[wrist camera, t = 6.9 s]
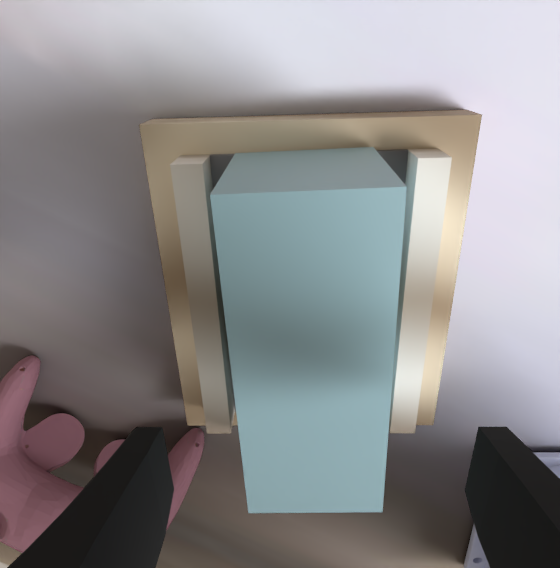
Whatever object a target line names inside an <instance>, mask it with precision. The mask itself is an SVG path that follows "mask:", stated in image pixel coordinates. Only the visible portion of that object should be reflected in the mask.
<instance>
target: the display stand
mask: <svg viewBox="0 0 560 568" xmlns="http://www.w3.org/2000/svg"><path fill="white" fill-rule="evenodd" d="M481 117H482V115H481V114H478V113H475V112H472V111H469V110H437V111H403V112H370V113H336V114H302V115H268V116H235V117H201V118H167V119H151V120H149V121H146V122H144V123H142V124H140V125H139V127H140V133H141V140H142V146H143V152H144V158H145V164H146V171H147V177H148V183H149V189H150V195H151V202H152V208H153V214H154V220H155V226H156V233H157V239H158V245H159V251H160V258H161V264H162V270H163V276H164V282H165V289H166V295H167V301H168V307H169V313H170V320H171V326H172V332H173V338H174V344H175V351H176V357H177V363H178V369H179V375H180V382H181V388H182V394H183V400H184V407H185V413H186V419H187V425H188V426H206V430H207V434H231V431H232V425H238V422H237V414H236V406H235V398H234V389H233V381H232V373H231V364H230V356H229V348H228V340H227V331H226V323H225V315H224V307H223V298H222V290H221V282H220V273H219V265H218V257H217V249H216V240H215V232H214V224H213V215H212V207H211V199H210V194H211V192H212V191H213V189H214V187H215V186H216V184H217V182H218V181H219V179H220V178H221V176H222V174H223V173H224V171H225V169H226V168H227V166H228V164H229V163H230V161H231V159H232V158H233V156H234V154H235V153H249V152H271V151H293V150H315V149H337V148H358V147H374V148H375V150H376V151H377V152H378V153H379V154H380V155H381V157H382V158H383V159H384V160H385V161H386V163H387V164H388V165H389V166H390V167H391V169H392V170H393V171H394V172H395V173H396V174H397V176H398V177H399V178H400V179H401V180H402V182H403V183H404V184H405V185H406V186H407V191H406V204H405V217H404V231H403V244H402V258H401V271H400V284H399V298H398V311H397V325H396V338H395V351H394V365H393V378H392V392H391V405H390V419H389V431H390V433H415V429H416V425H433V423H434V417H435V410H436V404H437V398H438V391H439V385H440V378H441V372H442V366H443V359H444V353H445V347H446V340H447V334H448V327H449V321H450V315H451V308H452V302H453V296H454V289H455V283H456V276H457V270H458V264H459V257H460V251H461V245H462V238H463V232H464V225H465V219H466V213H467V206H468V200H469V194H470V187H471V181H472V174H473V168H474V162H475V155H476V149H477V143H478V136H479V130H480V123H481Z"/></svg>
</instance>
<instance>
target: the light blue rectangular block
mask: <svg viewBox="0 0 560 568" xmlns="http://www.w3.org/2000/svg"><path fill="white" fill-rule="evenodd" d="M406 191H407V186H406V185H405V184H404V183H403V182H402V180H401V179H400V178H399V177H398V176H397V174H396V173H395V172H394V171H393V170H392V169H391V167H390V166H389V165H388V164H387V163H386V161H385V160H384V159H383V158H382V157H381V155H380V154H379V153H378V152H377V151H376V150H375V148H374V147H358V148H337V149H315V150H293V151H271V152H249V153H235V154H234V156H233V158H232V159H231V161H230V163H229V164H228V166H227V168H226V169H225V171H224V173H223V174H222V176H221V178H220V179H219V181H218V182H217V184H216V186H215V187H214V189H213V191H212V192H211V194H210V199H211V207H212V215H213V224H214V232H215V240H216V249H217V257H218V265H219V273H220V282H221V290H222V298H223V307H224V315H225V323H226V331H227V340H228V348H229V356H230V364H231V373H232V381H233V389H234V398H235V406H236V414H237V422H238V431H239V439H240V447H241V456H242V464H243V472H244V480H245V489H246V497H247V505H248V513H340V512H383V499H384V486H385V472H386V459H387V445H388V432H389V419H390V405H391V392H392V378H393V365H394V351H395V338H396V325H397V311H398V298H399V284H400V271H401V258H402V244H403V231H404V217H405V204H406Z"/></svg>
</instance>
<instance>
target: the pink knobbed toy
mask: <svg viewBox="0 0 560 568" xmlns="http://www.w3.org/2000/svg"><path fill="white" fill-rule="evenodd" d="M40 363H41V361H40V360H39V358H38V357H36V356H33V355H31V356H27V357H25V358H24V359H22V360H20V361H19V362H18V363H17V364H15V366H14V367H13V368H12V369H11V370H10V371H9V372H8V373H7V374H6V375H5V376H4V378H3V379H2V381H1V382H0V542H2V543H4V544H6V545H8V546H10V547H11V548H13V549H15V550H17V551H19V552H22V553H23V552H24V551H25V550H26V549H27V548H28V547H29V546H30V545H31V544H32V543H33V542H34V541H35V540H36V539H37V538H38V537H39V536H40V535H41V534H42V533H43V532H44V531H45V530H46V529H47V527H48V526H49V525H50V524H51V523H52V522H53V521H54V520H55V519H56V518H57V517H58V516H59V515H60V514H61V513H62V512H63V511H64V510H65V509H66V508H67V506H68V505H69V504H70V503H71V502H72V501H73V500H74V499H75V497H76V496H77V495H78V494H79V493H80V492H81V491H82V490H83V489H84V488H83V487H80V486H77V485H74V484H71V483H69V482H67V481H65V480H63V479H60V478H58V477H56V476H54V475H52V474H50V472H51V471H53V470H55V469H57V468H59V467H61V466H63V465H65V464H66V463H68V462H69V461H70V460H71V459H72V458H73V457H74V456H75V455H76V454H77V453H78V451H79V450H80V448H81V447H82V445H83V442H84V437H85V433H84V428H83V426H82V424H81V423H80V422H79V421H78V420H77V419H76V418H75V417H73V416H71V415H69V414H64V413H58V414H54V415H51V416H49V417H48V418H46V419H44V420H43V421H41V422H40V423H39V424H37V425H36V426H34V427H32V428H30V429H29V430H27V431H24V429H23V423H24V415H25V412H26V409H27V407H28V404H29V402H30V399H31V396H32V394H33V391H34V389H35V386H36V382H37V379H38V375H39V370H40ZM124 441H125V439H121V440H115V441H112V442H110V443H109V444H107V445H106V446H105V447H104V448H103V449H102V451H101V452H100V453H99V455H98V457H97V459H96V461H95V464H94V476H95V475H96V474H97V473H98V471H99V470H100V469H101V468H102V467H103V466H104V464H105V463H106V462H107V461H108V460H109V458H110V457H111V456H112V455H113V454H114V453H115V451H116V450H117V449H118V448H119V447H120V445H121V444H122V443H123V442H124ZM203 447H204V433H203V431H202V430H201V429H200V428H192V429H191V430H190V431H189V432H187V433H186V434H185V435H184V436H183V437H182V438H181V439H180V440H179V441H178V442H177V443H176V445H175V446H174V447H173V449H172V450H171V451H170V453H169V454H168V460H169V465H170V470H171V475H172V480H173V485H174V493H173V498H172V504H171V509H170V514H169V519H168V524H167V529H168V527H169V526H170V524H171V522H172V520H173V519H174V517H175V515H176V514H177V512H178V510H179V508H180V506H181V504H182V502H183V499H184V497H185V495H186V493H187V490H188V488H189V486H190V483H191V481H192V479H193V476H194V474H195V472H196V469H197V467H198V465H199V462H200V459H201V456H202V452H203ZM167 529H166V530H167Z"/></svg>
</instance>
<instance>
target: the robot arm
mask: <svg viewBox="0 0 560 568" xmlns="http://www.w3.org/2000/svg"><path fill="white" fill-rule="evenodd" d="M465 492H466V496H467V500H468V503H469V507H470V511H471V515H472V518H473V522H474V525H473V529H472V533H471V537H470V542H469V546H468V550H467V554H466V558H465V562H464V568H560V452H532V451H531V450H530V449H529V448H528V447H527V446H526V445H525V444H524V443H523V442H522V441H521V440H520V439H518V438H517V437H516V436H515V435H514V434H513V433H512V432H511V431H510V430H509V429H508V428H507V427H478V432H477V437H476V441H475V446H474V451H473V455H472V460H471V465H470V469H469V474H468V478H467V483H466V488H465ZM173 493H174V485H173V480H172V475H171V470H170V465H169V460H168V454H167V449H166V444H165V439H164V434H163V429H162V427H136V428H135V429H134V430H133V431H132V432H131V433H130V435H129V436H128V437H127V438H126V439H125V441H124V442H123V443H122V444H121V445H120V447H119V448H118V449H117V450H116V451H115V453H114V454H113V455H112V456H111V457H110V458H109V460H108V461H107V462H106V463H105V464H104V466H103V467H102V468H101V469H100V470H99V471H98V473H97V474H96V475H95V476H94V477H93V478H92V480H91V481H90V482H89V483H88V484H87V485H86V486H85V487H84V489H83V490H82V491H81V492H80V493H79V494H78V495H77V496H76V497H75V499H74V500H73V501H72V502H71V503H70V504H69V505H68V506H67V508H66V509H65V510H64V511H63V512H62V513H61V514H60V515H59V516H58V517H57V518H56V519H55V520H54V521H53V522H52V523H51V524H50V525H49V526H48V527H47V529H46V530H45V531H44V532H43V533H42V534H41V535H40V536H39V537H38V538H37V539H36V540H35V541H34V542H33V543H32V544H31V545H30V546H29V547H28V548H27V549H26V550H25V551H24V552H23V553H22V554H21V555H20V556H19V557H18V558H17V559H16V560H15V561H14V562H13V563H12V564H11V565H10V566H9V567H7V568H155V567H156V564H157V561H158V557H159V554H160V551H161V548H162V544H163V541H164V537H165V534H166V529H167V524H168V519H169V514H170V509H171V504H172V498H173Z"/></svg>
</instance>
